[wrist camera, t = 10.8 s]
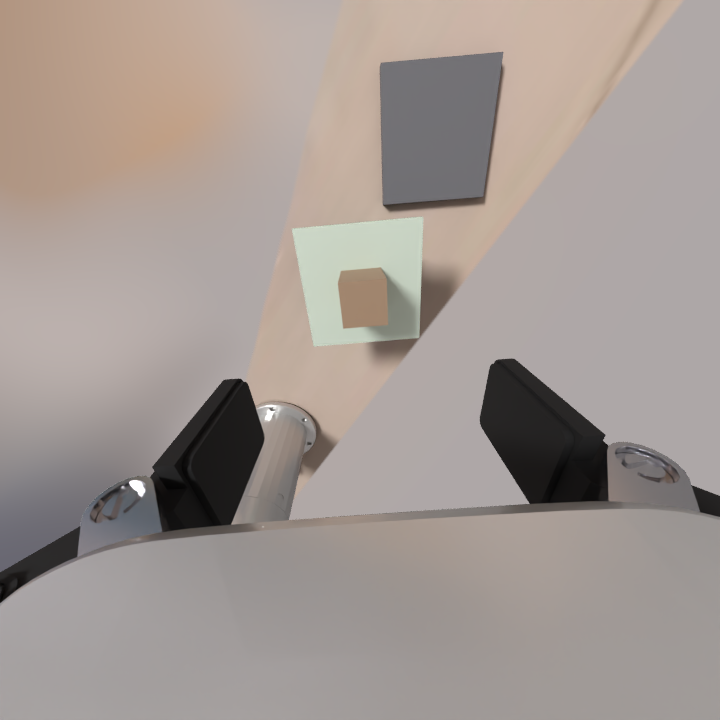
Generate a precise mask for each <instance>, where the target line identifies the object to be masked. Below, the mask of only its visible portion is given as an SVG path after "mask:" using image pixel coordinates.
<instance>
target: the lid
mask: <svg viewBox="0 0 720 720" xmlns="http://www.w3.org/2000/svg"><path fill="white" fill-rule="evenodd" d="M292 232H293V238H294V243H295V248H296V254H297V259H298V264H299V270H300V275H301V280H302V286H303V291H304V296H305V302H306V307H307V313H308V318H309V323H310V329H311V334H312V339H313V345H314V346H326V345H339V344H351V343H363V342H376V341H388V340H400V339H413V338H419V331H420V302H421V273H422V243H423V217H412V218H401V219H390V220H380V221H369V222H358V223H347V224H336V225H325V226H314V227H304V228H294V229H292Z"/></svg>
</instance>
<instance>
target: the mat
mask: <svg viewBox="0 0 720 720" xmlns="http://www.w3.org/2000/svg"><path fill="white" fill-rule="evenodd" d="M502 58H503V52H497V53H485V54H474V55H463V56H452V57H441V58H430V59H419V60H408V61H396V62H385V63H381V65H380V95H381V141H382V186H383V205H389V204H401V203H414V202H426V201H439V200H451V199H464V198H476V197H483V195H484V187H485V180H486V173H487V166H488V159H489V151H490V144H491V137H492V130H493V122H494V115H495V108H496V101H497V94H498V86H499V79H500V72H501V65H502Z"/></svg>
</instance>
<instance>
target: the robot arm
mask: <svg viewBox="0 0 720 720" xmlns="http://www.w3.org/2000/svg"><path fill="white" fill-rule="evenodd" d="M480 424H481V427H482V429H483V430H484V432H485V434H486V435H487V437H488V438H489V440H490V441H491V443H492V445H493V446H494V448H495V449H496V451H497V453H498V454H499V456H500V457H501V459H502V460H503V462H504V464H505V465H506V467H507V468H508V470H509V472H510V473H511V475H512V476H513V478H514V479H515V481H516V483H517V484H518V486H519V487H520V489H521V490H522V492H523V494H524V495H525V496H526V498H527V500H528V501H529V503H530V504H523V505H506V506H490V507H476V508H459V509H443V510H428V511H413V512H399V513H384V514H370V515H354V516H342V517H341V516H340V517H326V518H313V519H300V520H289V516H290V512H291V507H292V503H293V498H294V494H295V489H296V485H297V480H298V475H299V471H300V466H301V462H302V457H303V454H304V453H306V452H307V451H308V450H309V449H310V448H311V447H312V446H313V444H314V442H315V439H316V431H317V430H316V425H315V423H314V421H313V419H312V418H311V417H310V416H309V415H308V414H307V413H306V412H305V411H304V410H302V409H300V408H299V407H296V406H294V405H291V404H288V403H283V402H269V403H264V404H261V405H258V406H257V407H255V404H254V401H253V398H252V395H251V392H250V389H249V386H248V384H247V383H246V382H243V381H242V380H241V379H229V380H224V381H222V383H221V384H220V385H219V386H218V388H217V389H216V390H215V391H214V393H213V394H212V395H211V396H210V397H209V399H208V400H207V401H206V402H205V403H204V405H203V406H202V407H201V408H200V410H199V411H198V412H197V413H196V415H195V416H194V417H193V418H192V419H191V420H190V422H189V423H188V424H187V426H186V427H185V428H184V429H183V430H182V431H181V433H180V434H179V435H178V436H177V438H176V439H175V440H174V441H173V442H172V444H171V445H170V446H169V447H168V448H167V450H166V451H165V452H164V453H163V455H162V456H161V457H160V458H159V459H158V461H157V462H156V463H155V464H154V466H153V469H154V471H155V472H154V473H153V474H152V475H151V477H150V478H149V477H147V476H135V477H131V478H128V479H125V480H123V481H121V482H118V483H116V484H115V485H113V486H111V487H110V488H108V489H107V490H105V491H104V492H103V493H101V494H100V495H99V496H97V497H96V498H95V499H94V500H93V501H92V502H91V503H90V504H89V506H88V507H87V509H86V510H85V511H84V513H83V516H82V519H81V526H80V527H78V528H77V529H75V530H73V531H71V532H70V533H68V534H66V535H64V536H63V537H61V538H59V539H58V540H56V541H54V542H52V543H51V544H49V545H47V546H46V547H44V548H42V549H40V550H38V551H37V552H35V553H33V554H31V555H30V556H28V557H26V558H24V559H23V560H21V561H19V562H18V563H16V564H14V565H12V566H11V567H9V568H7V569H5V570H4V571H2V572H0V720H720V496H718V495H716V494H713V493H710V492H708V491H705V490H702V489H700V488H697V487H695V486H692V485H691V483H690V479H689V477H688V476H687V474H686V472H685V471H684V470H683V469H682V468H681V467H680V466H679V465H678V464H677V463H676V462H674V461H673V460H671V459H670V458H668V457H667V456H665V455H663V454H661V453H659V452H657V451H655V450H653V449H650V448H648V447H645V446H642V445H638V444H634V443H628V442H617V443H613V444H611V445H609V446H608V445H607V444H606V443H605V442H604V441H603V439H604V437H605V434H604V433H602V432H601V431H600V430H599V429H598V428H596V427H595V426H594V425H593V424H592V423H591V422H589V421H588V420H587V419H586V418H585V417H583V416H582V415H581V414H580V413H578V412H577V411H576V410H575V409H574V408H572V407H571V406H570V405H569V404H568V403H567V402H565V401H564V400H563V399H562V398H561V397H559V396H558V395H557V394H556V393H555V392H553V391H552V390H551V389H550V388H549V387H547V386H546V385H545V384H544V383H543V382H541V381H540V380H539V379H538V378H537V377H535V376H534V375H533V374H532V373H531V372H529V371H528V370H527V369H526V368H525V367H523V366H522V365H521V364H520V363H518V361H516V360H515V359H501V360H496V361H495V363H494V364H492V365H491V366H490V369H489V374H488V379H487V384H486V390H485V395H484V400H483V405H482V410H481V415H480Z"/></svg>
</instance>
